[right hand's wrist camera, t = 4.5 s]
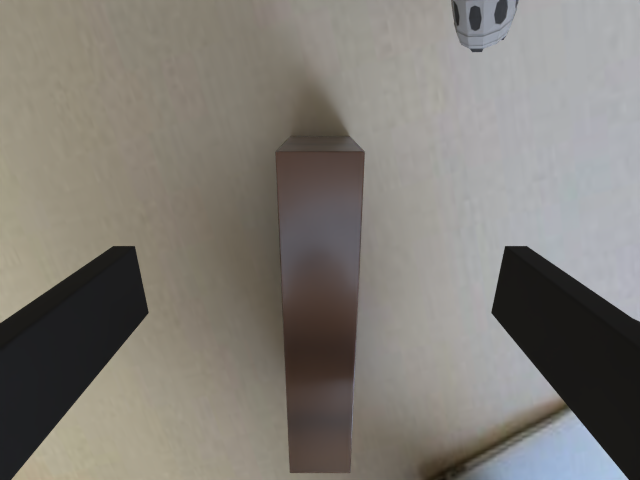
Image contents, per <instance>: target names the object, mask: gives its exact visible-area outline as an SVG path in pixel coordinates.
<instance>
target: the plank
mask: <svg viewBox="0 0 640 480" xmlns="http://www.w3.org/2000/svg"><path fill="white" fill-rule="evenodd" d="M364 156H365V152H364V151H363V150H362V149H361V148H360V146H359V145H358V144H357V143H356V142H355V141H354V140H353V139H352V138H351V137H350V136H290V137H289V138H288V139H287V140H286V141H285V142H284V144H283V145H282V146H281V147H280V148H279V149H278V150H277V151H276V173H277V196H278V218H279V240H280V263H281V285H282V307H283V329H284V352H285V374H286V396H287V419H288V441H289V463H290V473H350V467H351V444H352V422H353V400H354V378H355V356H356V333H357V311H358V289H359V267H360V245H361V223H362V200H363V178H364Z"/></svg>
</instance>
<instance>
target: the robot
mask: <svg viewBox="0 0 640 480" xmlns="http://www.w3.org/2000/svg"><path fill="white" fill-rule="evenodd" d="M451 2H452V11H453V17H454V25H455V29H456V32H457V35H458V38H459V41H460V43H461V45H463V46H465V47H467V48H469V49H470V50H471V51H472V52H482V50H483V48H486V47H488V46H491V45H494V44H497V43H498V42H499V41H500V40H503V39H504V38H505V37H506V35H507V33H508V31H509V28H510V25H511V23H512V20H513V18H514V15H515V13H516V10H517V5H518V0H451Z"/></svg>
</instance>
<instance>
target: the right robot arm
mask: <svg viewBox="0 0 640 480" xmlns="http://www.w3.org/2000/svg"><path fill="white" fill-rule="evenodd" d="M148 313H149V312H148V308H147V303H146V298H145V293H144V288H143V283H142V279H141V274H140V269H139V264H138V259H137V254H136V249H135V246H113V247H111V248H110V249H108V250H107V251H106V252H104V253H103V254H101V255H100V256H98V257H97V258H95V259H94V260H92V261H91V262H89V263H88V264H86V265H85V266H84V267H82V268H81V269H79V270H78V271H76V272H75V273H73V274H72V275H70V276H69V277H67V278H66V279H64V280H63V281H62V282H60V283H59V284H57V285H56V286H54V287H53V288H51V289H50V290H48V291H47V292H45V293H44V294H43V295H41V296H40V297H38V298H37V299H35V300H34V301H32V302H31V303H29V304H28V305H26V306H25V307H23V308H22V309H21V310H19V311H18V312H16V313H15V314H13V315H12V316H10V317H9V318H7V319H6V320H4V321H3V322H2V323H0V480H11V479H12V478H13V477H14V476H15V474H16V473H17V472H18V471H19V470H20V468H21V467H22V466H23V465H24V463H25V462H26V461H27V460H28V459H29V457H30V456H31V455H32V454H33V453H34V451H35V450H36V449H37V448H38V446H39V445H40V444H41V443H42V442H43V440H44V439H45V438H46V437H47V436H48V434H49V433H50V432H51V431H52V429H53V428H54V427H55V426H56V425H57V423H58V422H59V421H60V420H61V419H62V417H63V416H64V415H65V414H66V413H67V411H68V410H69V409H70V408H71V406H72V405H73V404H74V403H75V402H76V400H77V399H78V398H79V397H80V396H81V394H82V393H83V392H84V391H85V389H86V388H87V387H88V386H89V385H90V383H91V382H92V381H93V380H94V379H95V377H96V376H97V375H98V374H99V372H100V371H101V370H102V369H103V368H104V366H105V365H106V364H107V363H108V362H109V360H110V359H111V358H112V357H113V356H114V354H115V353H116V352H117V351H118V349H119V348H120V347H121V346H122V345H123V343H124V342H125V341H126V340H127V339H128V337H129V336H130V335H131V334H132V332H133V331H134V330H135V329H136V328H137V326H138V325H139V324H140V323H141V322H142V320H143V319H144V318H145V317H146V315H147V314H148ZM491 313H492V314H493V315H494V317H495V318H496V319H497V320H498V322H499V323H500V324H501V325H502V326H503V328H504V329H505V330H506V331H507V332H508V334H509V335H510V336H511V337H512V339H513V340H514V341H515V342H516V343H517V345H518V346H519V347H520V348H521V349H522V351H523V352H524V353H525V354H526V356H527V357H528V358H529V359H530V360H531V362H532V363H533V364H534V365H535V366H536V368H537V369H538V370H539V371H540V372H541V374H542V375H543V376H544V377H545V379H546V380H547V381H548V382H549V383H550V385H551V386H552V387H553V388H554V389H555V391H556V392H557V393H558V394H559V396H560V397H561V398H562V399H563V400H564V402H565V403H566V404H567V405H568V406H569V408H570V409H571V410H572V411H573V413H574V414H575V415H576V416H577V417H578V419H579V420H580V421H581V422H582V423H583V425H584V426H585V427H586V428H587V429H588V431H589V432H590V433H591V434H592V436H593V437H594V438H595V439H596V440H597V442H598V443H599V444H600V445H601V446H602V448H603V449H604V450H605V451H606V453H607V454H608V455H609V456H610V457H611V459H612V460H613V461H614V462H615V463H616V465H617V466H618V467H619V468H620V470H621V471H622V472H623V473H624V474H625V476H626V477H627V478H628V479H629V480H640V322H639V321H637V320H635V319H633V318H631V317H630V316H628V315H627V314H625V313H624V312H622V311H621V310H619V309H618V308H617V307H615V306H614V305H612V304H611V303H609V302H608V301H606V300H605V299H603V298H602V297H600V296H599V295H597V294H596V293H595V292H593V291H592V290H590V289H589V288H587V287H586V286H584V285H583V284H581V283H580V282H578V281H577V280H575V279H574V278H573V277H571V276H570V275H568V274H567V273H565V272H564V271H562V270H561V269H559V268H558V267H556V266H555V265H554V264H552V263H551V262H549V261H548V260H546V259H545V258H543V257H542V256H540V255H539V254H537V253H536V252H534V251H533V250H532V249H530V248H529V247H527V246H505V249H504V254H503V259H502V264H501V269H500V274H499V279H498V283H497V288H496V293H495V298H494V303H493V308H492V312H491Z"/></svg>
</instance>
